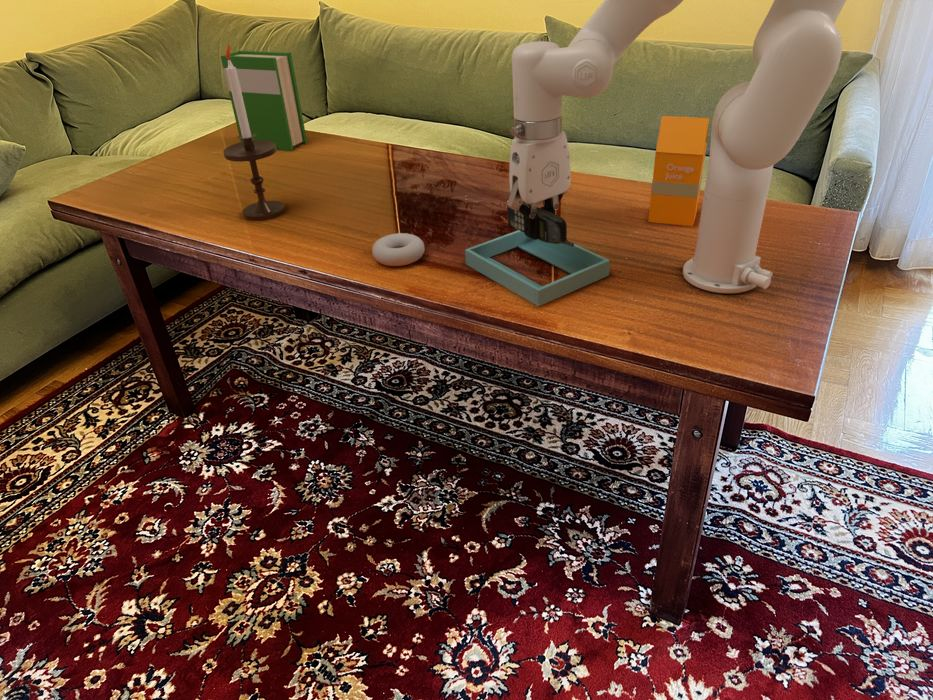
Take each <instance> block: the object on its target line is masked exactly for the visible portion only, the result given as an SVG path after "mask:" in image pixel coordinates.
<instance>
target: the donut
mask: <svg viewBox="0 0 933 700" xmlns="http://www.w3.org/2000/svg"><path fill="white" fill-rule="evenodd" d="M425 249H426V248H425V243H424V241H423V240H422V239H421V238H420V237H419V236H417V235H415V234H411V233H405V232H397V233H391V234H387V235H385V236H381V237H380V238H379V239H377V240H375V242H374V244H373V245H372V249H371V254H372V257H373V258H374V259H375V261H376V262H378V263H379V264H380V265H381V264H382V265H384V266H387V267H403V266H408V265H411V264H413V263H416V262H417V261H419V260H420V259H421V258H422V257H423V255H424V253H425Z"/></svg>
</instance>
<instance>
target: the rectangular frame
mask: <svg viewBox="0 0 933 700" xmlns="http://www.w3.org/2000/svg"><path fill="white" fill-rule="evenodd" d="M515 248H518V249H520V250H522V251H524V252H526V253H528V254H530V255H532V256H534V257H535V258H538V259H540V260H542V261H544V262H545V263H548V264H550V265H552V266H554V267H555V268H558V269H560V270H562V271H563V272H566V273H567V274H568V275H566V276H563V277H561V278H559V279H556V280H554V281H552V282H549V283H547V284H545V285H541V284H539V283H537V282H535V281H533V280H531V279H529V278H528V277H526V276H524V275H522V274H521V273H519V272H517V271H516V270H513V269H512V268H509V267H508V266H506V265H504V264H502V263H500V262H499V261H497V260H495V259H493V258H491V257H494V256H496V255H500V254H502V253H504V252H507V251H509V250H513V249H515ZM464 256H465V265H466V266H468V267H470V268H472V269H473V270H475V271H476V272H478V273H480V274H482V275H484V276H485V277H487V278H488V279H490V280H492V281H494V282H495V283H497V284H499V285H500V286H502V287H504V288H505V289H507V290H509V291H511V292H513V293H514V294H515V295H518V296H519V297H521V298H523V299H524V300H527V302H530V303H532V304H533V305H535V306H537V307H540V306H543V305H545V304H548V303H550V302H552V301H555V300H557V299H559V298H561V297H563V296H565V295H568V294H570V293H572V292H574V291H576V290H579V289H581V288H584V287H587V286H588V285H590V284H592V283H595V282H598V281H600V280H602V279H604V278H606V277H609V276H610V267H611V259H608V258H607V257H604V256H602V255H600V254H598V253H595V252H593V251H590V250H589V249H587V248H585V247H582V246H580V245H578V244H575V243H574V246H573V247H571V246H569V245H566V244H563V243H560V244H553V243H546V242H543V241H541V240H539V239H537V240H534V239H532V238H530V237H528V236H526V235H525V233H524V232H522V231H519V230H515V231H512V232H510V233H507V234H504V235H502V236H498V237H496V238H493V239H490V240H487V241H485V242H482V243H480V244H476V245H474V246H471V247H469V248H466V249H465V250H464Z"/></svg>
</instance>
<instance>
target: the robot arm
mask: <svg viewBox="0 0 933 700" xmlns="http://www.w3.org/2000/svg"><path fill="white" fill-rule="evenodd" d="M683 2H684V0H603V2H602V3H601V4H600V5H599V6H598V7H597V8H596V10H595V11H594V12H593V14H592V15H591V16H590V17H589V18H588V20H587V21H586V22H585V23H584V25H583V26H582V27H581V28H580V30H579V31H578V32H577V33H576V35H575V36H574V37H573V38H572V40H571V41H570V43H569V44H568V46H566V47H560V46H559V45H558V44H557V43H556V42H552V41H544V40H543V41H541V40H540V41H530V42H525V43H521V44H518V45H517V46H516V47H515V48H514V49H513V51H512V53H511V74H512V99H513V100H512V101H513V102H512V103H513V125H514V126H512V127H511V128H510V129H509V133H510V135H511V136H512V137H514V138H512V140H511V146H510V152H509V153H510V155H509V165H508V166H509V169H508V170H509V171H508V179H509V182H508V183H509V192H510V194H509V197H508V200H507V202H506V207H508V208H511V209H513V210H517V211H519V212H520V214H521V215H523V216H524V233H525V235H526V236H528V237H530V238H532V239H534V240H537V239H539V218H538V217H536V207H538V206H537V204H538V203H541V202H542V205H543V206H540V208H541V209H544V210H546V211H549V212H551V213H553V214H556V211H557V210H558V209H559V208H560V202H561V200H562V198H563V197H564V195H565V194H566V193H567V192H568V190H570V188H571V182H572V177H571V176H572V175H571V174H572V173H571V172H572V171H571V156H570V149H569V143H568V139H567V134H566V132H565V131H564V130H563V122H562V121H563V96H566V97H572V98H573V97H574V98H579V99H580V98H581V99H582V98H583V99H585V98H586V99H587V98H593V97H596V96H598V95H600V94H601V93H603V92H604V91H605V90H607V88H608V87H609V85H610V83H611V81H612V79H613V75H614V65H615V63H616V62H617V61H618V59H620V57H621V56H622V55H623V54H624V53H625V51H627V49H629V47H630V46H631V44H632V43H633V42H634V41H635V40H636V39H637V38H638V37H639V36H640V35H641V34H642V33H643V32H644V31H645V30H646V29H647V28H648V27H649V26H650V25H651V24H653V23H654V22H655V21H656V20H659V19H660V18H663V17H664V16H666V15H667V14H669V13H671V12H672V11H674V10H676V8H677V7H679V6H680V4H682V3H683ZM846 2H847V0H773V2H772V4H771V6H770V9H769V10H768V12H767V14H766V16H765V17H764V20H763V22H762V23H761V25H760V27H759V28H758V31H757V33H756V36H754V37H755V38H754V40H753V45H752V57H753V60H754V63H755V65H756V66H757V67H756V70H755V71H754V73H753V76H752V77H751V80H750V81H744V82H741V83H738V84H736V85H734V86H732V87H731V88H729V89H728V90H727V91H726V92H725V93H724V94H723V95H722V96H721V98H720V99H719V100H718V102H717V104H716V106H715V109H714V113H713V117H712V123H711V131H710V145H709V157H708V165H707V171H706V172H707V173H706V179H705V185H704V191H703V197H702V203H701V210H700V211H701V212H700V217H699V224H698V231H697V235H696V237H697V238H696V243H695V250H694V255H693V257H692V258H690V259H688V260H687V261H686V262H685V263H684V264H683V267H682V276H683V278H684V279H685V280H686V281H687V282H688V283H689V284H691V286H694V287H696V288H698V289H701V290H703V291H707V292H712V293H717V294H740V293H746V292H748V291H751V290H753V289H754V288H756V287H758V288H762V289H764V290H766V289H768V288H769V286H770V285H771V283H772V277H773V274H774V273H773V271H770V270H768V269H764V268H762V267H761V266H760V263H761V260H762V257H761V256H758V255H756V253H757V249H758V248H757V247H758V243H759V239H760V234H761V230H762V224H763V219H764V215H765V211H766V204H767V199H768V195H769V192H770V187H771V182H772V176H773V171H774V166H775V165H776V164H778V163H779V162H781V161H782V160H783V159H784V158H786V156H787V155H788V154H790V152H791V150H792V149H793V148H794V146H796V143H797V142H798V140H799V139H800V137H801V135H802V134H803V132H804V131H805V129H806V127H807V126H808V123H809V122H810V120H811V119H812V117H813V116H814V113H815V111H816V109H817V108H818V107H819V104H820V103H821V101H822V99H823V98H824V95H825V94H826V93H827V92H828V91H827V90H828V89H829V87H830V85H831V83H832V82H833V80H834V79H835V78H834V77H835V76H836V74H837V71H838V68H839V65H840V62H841V58H842V54H843V40H842V37H841V34H840V31H839V29H838V27H837V26H836V25H835V23H836V21H837V20H838V17H839V15H840V13H841V11H842V9H843V8H844V5H845V4H846ZM519 201H520V202H521V203H519ZM528 204H529V208H528ZM556 215H557V214H556Z"/></svg>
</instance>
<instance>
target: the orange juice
mask: <svg viewBox="0 0 933 700" xmlns="http://www.w3.org/2000/svg"><path fill="white" fill-rule="evenodd" d="M709 124H710V117H708V118H707V117H695V116H694V117H693V116H692V117H691V116H675V115H674V116H673V115H671V116H670V115H661V119H660V125H659V131H658V136H657V142H656V150H655V155H654V163H653V165H654V166H653V172H652V173H653V174H652V180H651V190H650V201H649V210H648V218H647V219H648V220H647V222H648V223H654V224H655V223H656V224H662V225H663V224H665V225H673V226H684V227H694V224H695V219H696V216H697V213H698V207H699V201H700V193H701V186H702V181H703V173H704V167H705V160H706V154H707V153H706V152H707V146H708V135H709V134H708V133H709V126H710V125H709Z"/></svg>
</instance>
